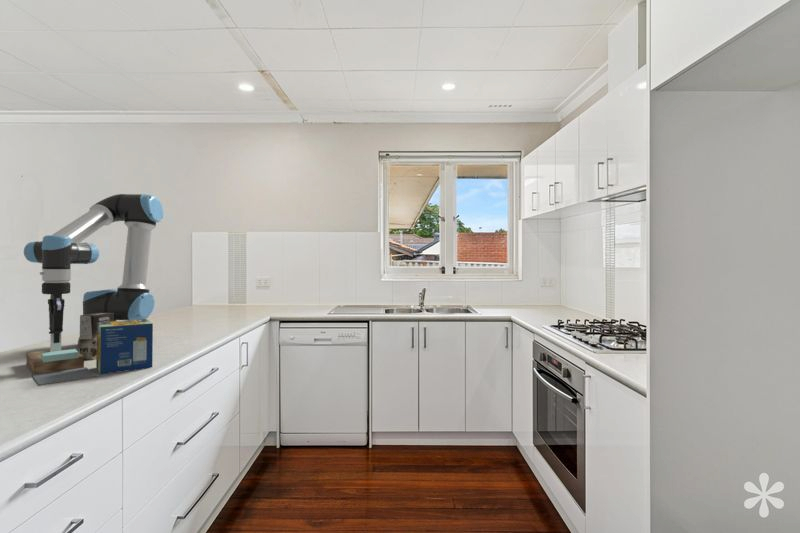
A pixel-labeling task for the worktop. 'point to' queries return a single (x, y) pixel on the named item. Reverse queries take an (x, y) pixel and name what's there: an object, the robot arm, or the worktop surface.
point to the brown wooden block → (52, 363)
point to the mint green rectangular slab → (59, 355)
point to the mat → (63, 376)
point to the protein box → (124, 345)
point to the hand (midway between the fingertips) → (55, 352)
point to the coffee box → (91, 332)
